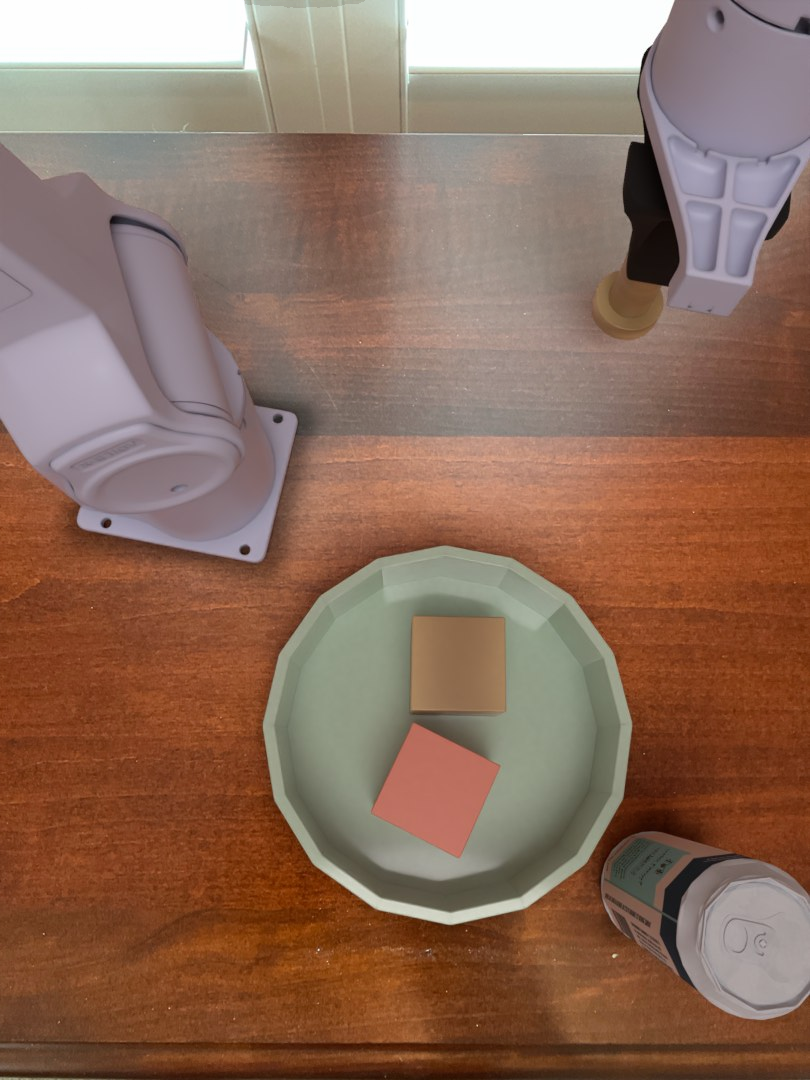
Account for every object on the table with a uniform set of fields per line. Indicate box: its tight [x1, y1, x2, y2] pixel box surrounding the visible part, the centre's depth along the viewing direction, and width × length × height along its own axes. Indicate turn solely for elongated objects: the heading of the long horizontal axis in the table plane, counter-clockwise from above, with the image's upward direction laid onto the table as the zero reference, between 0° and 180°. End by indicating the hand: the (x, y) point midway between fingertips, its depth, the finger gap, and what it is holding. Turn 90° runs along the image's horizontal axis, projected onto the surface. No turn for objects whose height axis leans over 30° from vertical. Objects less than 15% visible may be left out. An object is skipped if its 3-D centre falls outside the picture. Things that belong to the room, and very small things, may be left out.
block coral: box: [371, 722, 500, 858], centre depth 36 cm, size 4×4×4 cm
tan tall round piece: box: [590, 252, 664, 341], centre depth 36 cm, size 3×3×8 cm
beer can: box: [600, 830, 810, 1021], centre depth 32 cm, size 5×5×12 cm
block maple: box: [409, 615, 506, 717], centre depth 37 cm, size 4×4×4 cm
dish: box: [261, 544, 633, 926], centre depth 37 cm, size 15×15×5 cm
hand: (654, 250), depth 35 cm, fingers closed on tan tall round piece, 2 cm apart
